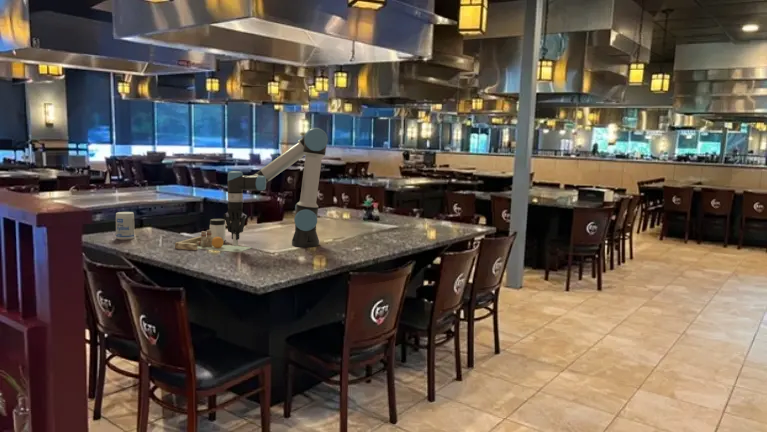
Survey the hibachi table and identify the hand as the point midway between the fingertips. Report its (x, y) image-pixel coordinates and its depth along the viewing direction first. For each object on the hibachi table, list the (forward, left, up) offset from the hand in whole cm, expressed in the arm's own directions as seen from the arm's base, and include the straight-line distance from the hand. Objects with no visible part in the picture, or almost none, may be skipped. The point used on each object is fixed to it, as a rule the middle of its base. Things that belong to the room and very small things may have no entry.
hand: (235, 245), depth 301 cm
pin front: (+14, 0, -1) cm, 15 cm away
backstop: (+23, 0, -2) cm, 23 cm away
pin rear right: (+18, -2, -2) cm, 18 cm away
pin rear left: (+18, +2, -2) cm, 18 cm away
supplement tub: (+71, -2, -2) cm, 71 cm away
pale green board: (+10, 0, -2) cm, 10 cm away
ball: (+10, +1, +1) cm, 10 cm away
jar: (+22, -18, -2) cm, 29 cm away
